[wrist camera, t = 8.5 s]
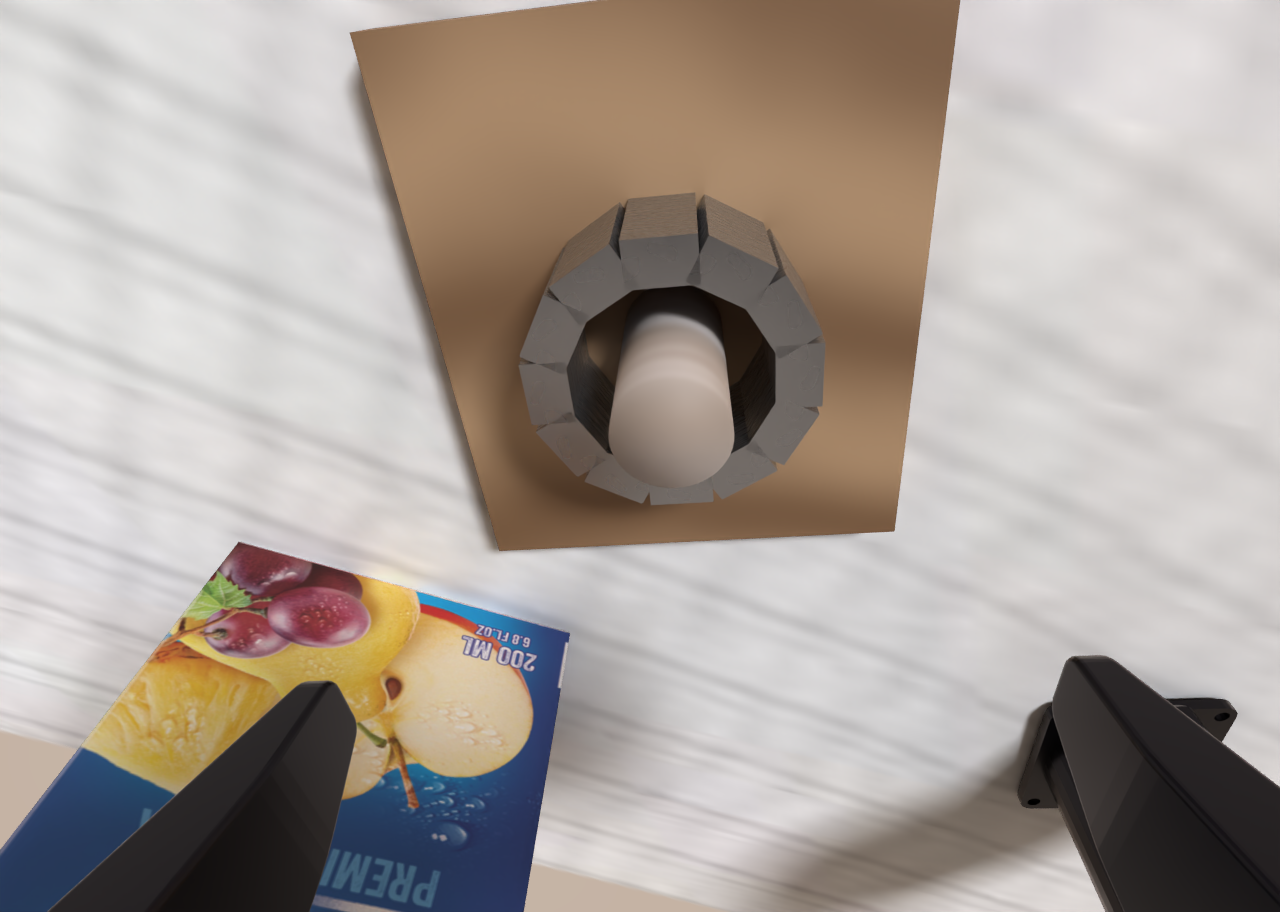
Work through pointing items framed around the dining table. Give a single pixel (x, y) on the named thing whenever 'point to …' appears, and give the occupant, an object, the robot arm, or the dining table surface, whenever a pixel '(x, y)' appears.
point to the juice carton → (383, 751)
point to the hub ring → (668, 257)
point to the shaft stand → (705, 164)
